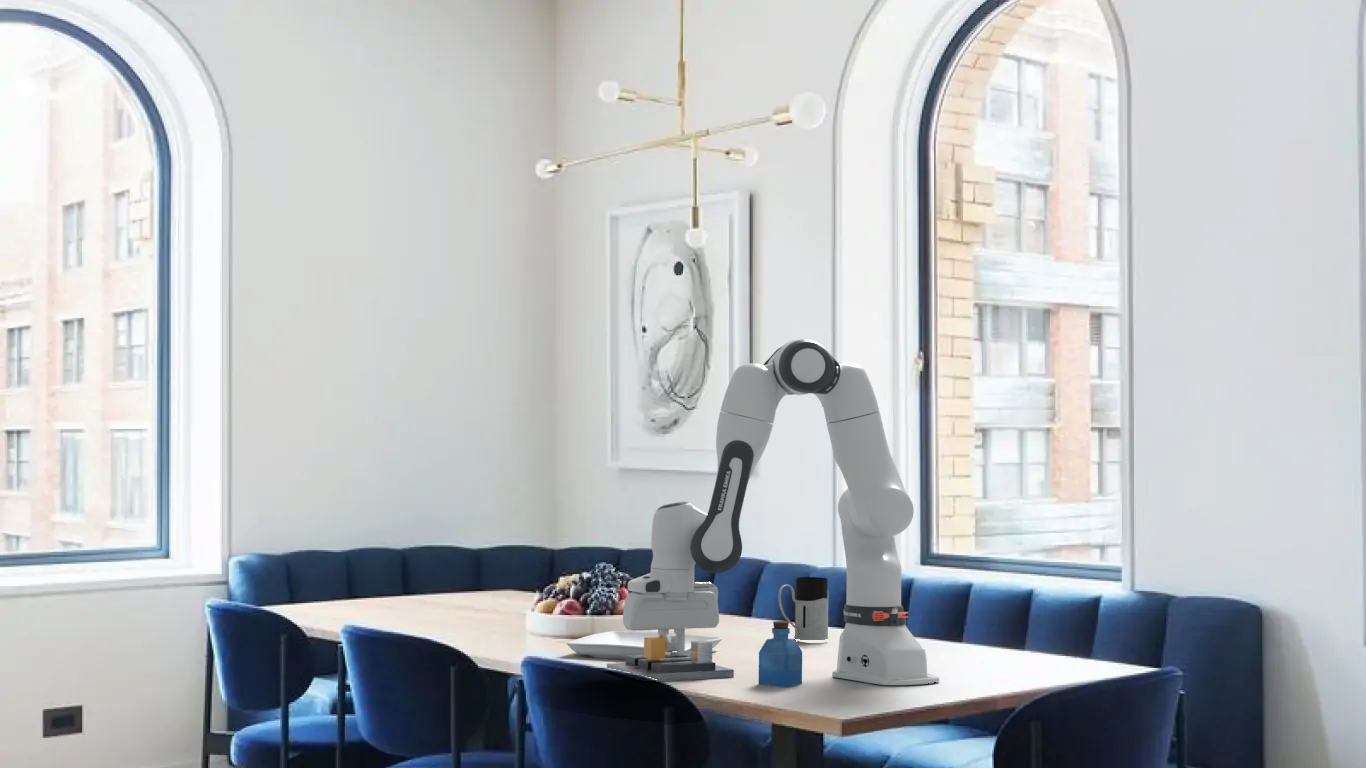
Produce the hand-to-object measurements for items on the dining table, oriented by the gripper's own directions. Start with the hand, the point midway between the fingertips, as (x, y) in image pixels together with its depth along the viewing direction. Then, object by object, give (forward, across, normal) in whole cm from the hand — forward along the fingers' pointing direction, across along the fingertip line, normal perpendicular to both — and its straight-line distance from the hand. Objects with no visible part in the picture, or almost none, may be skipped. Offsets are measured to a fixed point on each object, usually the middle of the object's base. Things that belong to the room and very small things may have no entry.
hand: (671, 651), depth 336 cm
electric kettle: (+4, -55, -40) cm, 68 cm away
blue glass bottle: (+5, -14, +20) cm, 25 cm away
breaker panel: (+4, 0, 0) cm, 5 cm away
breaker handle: (+1, +4, 0) cm, 4 cm away
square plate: (+5, -10, -32) cm, 34 cm away
